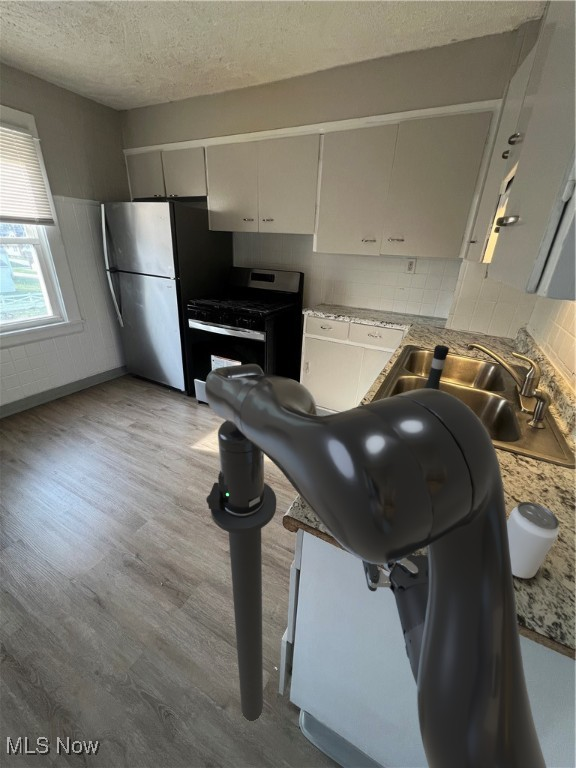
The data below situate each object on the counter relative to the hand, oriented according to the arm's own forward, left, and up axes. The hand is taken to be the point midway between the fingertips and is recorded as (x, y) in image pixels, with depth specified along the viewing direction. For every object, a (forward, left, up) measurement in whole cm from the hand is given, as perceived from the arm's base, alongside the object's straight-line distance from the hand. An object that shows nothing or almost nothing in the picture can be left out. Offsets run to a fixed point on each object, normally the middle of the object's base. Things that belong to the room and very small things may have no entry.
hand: (402, 523), depth 49 cm
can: (+23, +4, -12) cm, 26 cm away
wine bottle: (+15, +36, -12) cm, 41 cm away
